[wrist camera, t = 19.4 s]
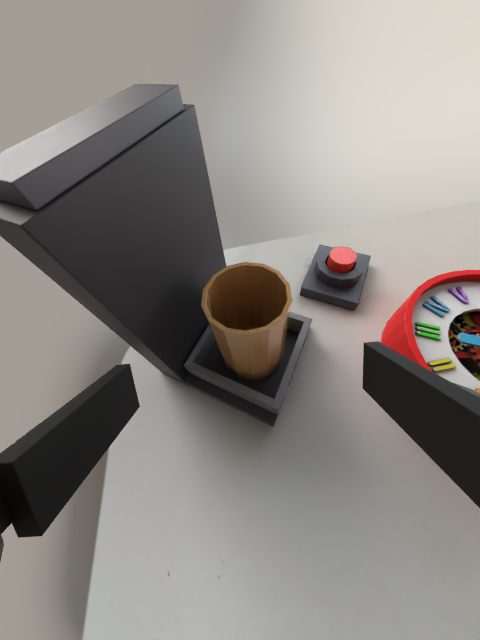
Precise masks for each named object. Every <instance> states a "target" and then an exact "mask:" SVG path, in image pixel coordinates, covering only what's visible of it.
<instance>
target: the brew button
mask: <svg viewBox="0 0 480 640" xmlns="http://www.w3.org/2000/svg"><path fill="white" fill-rule="evenodd" d="M356 259H357V255H356V253H355V251H353V250H352V249H350V248H348V247H336V248H334V249H332V250H331V252H330V255H329V258H328V261H327V265H328V267H329V268H330V269H331V270H332V271H334V272H337V273H346V272H349V271H350V270H351V269H352V268H353V266H354V263H355V261H356Z"/></svg>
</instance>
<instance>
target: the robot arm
mask: <svg viewBox="0 0 480 640" xmlns="http://www.w3.org/2000/svg"><path fill="white" fill-rule="evenodd" d="M363 389H364V390H365V391H366V392H367V393H368V394H369V395H370V396H371V397H372V398H373V399H374V400H375V401H376V402H377V403H378V404H379V405H380V406H381V407H382V408H383V409H384V411H385V412H386V413H387V414H388V415H389V416H390V417H391V418H392V419H393V420H394V421H395V422H396V423H397V424H398V425H399V426H400V427H401V428H402V429H403V430H404V431H405V432H406V433H407V434H408V435H409V436H410V437H411V438H412V439H413V440H414V441H415V442H416V443H417V444H418V445H419V446H420V447H421V448H422V449H423V450H424V451H425V452H426V453H427V455H428V456H429V457H430V458H431V459H432V460H433V461H434V462H435V463H436V464H437V465H438V466H439V467H440V468H441V469H442V470H443V471H444V472H445V473H446V474H447V475H448V476H449V477H450V478H451V479H452V480H453V481H454V482H455V483H456V484H457V485H458V486H459V487H460V488H461V489H462V490H463V491H464V492H465V493H466V494H467V495H468V496H469V497H470V499H471V500H472V501H473V502H474V503H475V504H476V505H477V506H478V507H479V508H480V393H478V392H476V391H474V390H472V389H470V388H467V387H464V386H462V385H459V384H456V383H453V382H450V381H448V380H447V379H445V378H443V377H441V376H439V375H438V374H436V373H434V372H432V371H430V370H429V369H427V368H425V367H423V366H421V365H420V364H418V363H416V362H414V361H412V360H411V359H409V358H407V357H405V356H403V355H402V354H400V353H398V352H396V351H394V350H393V349H391V348H389V347H387V346H385V345H383V344H382V343H380V342H368V343H364V358H363ZM139 407H140V406H139V402H138V397H137V393H136V389H135V384H134V380H133V376H132V371H131V367H130V364H124V365H116V366H115V367H114V368H112V369H111V370H110V371H108V372H107V373H106V374H105V375H103V376H102V377H101V378H99V379H98V380H97V381H96V382H94V383H93V384H91V385H90V386H89V387H87V388H86V389H85V390H84V391H82V392H81V393H80V394H78V395H77V396H76V397H74V398H73V399H72V400H70V401H69V402H68V403H66V404H65V405H64V406H63V407H61V408H60V409H59V410H57V411H56V412H55V413H53V414H52V415H51V416H50V417H48V418H47V419H46V420H44V421H43V422H42V423H40V424H38V425H37V426H36V427H34V428H33V429H32V430H31V431H29V432H28V433H26V435H25V436H23V437H22V438H20V439H19V440H17V441H16V442H15V443H14V444H12V445H11V446H9V447H8V448H7V449H5V450H4V451H3V452H1V453H0V561H1V556H2V551H3V546H4V544H3V539H2V536H1V534H2V533H3V532H4V530H5V529H6V528H7V527H8V526H9V525H10V524H11V523H12V524H13V526H14V529H15V531H16V533H17V535H18V537H32V536H33V537H34V536H42V535H43V534H44V532H45V531H46V530H47V528H48V527H49V526H50V524H51V523H52V522H53V521H54V519H55V518H56V517H57V515H58V514H59V512H60V511H61V510H62V509H63V507H64V506H65V505H66V503H67V502H68V501H69V499H70V498H71V497H72V495H73V494H74V493H75V491H76V490H77V489H78V487H79V486H80V485H81V483H82V482H83V480H84V479H85V478H86V477H87V476H88V474H89V473H90V471H91V470H92V469H93V468H94V466H95V465H96V464H97V462H98V461H99V460H100V458H101V457H102V455H103V454H104V453H105V452H106V450H107V449H108V448H109V446H110V445H111V444H112V442H113V441H114V440H115V438H116V437H117V436H118V435H119V433H120V432H121V431H122V429H123V428H124V427H125V425H126V424H127V423H128V421H129V420H130V419H131V417H132V416H133V415H134V413H135V412H136V411H137V409H138V408H139Z"/></svg>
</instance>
